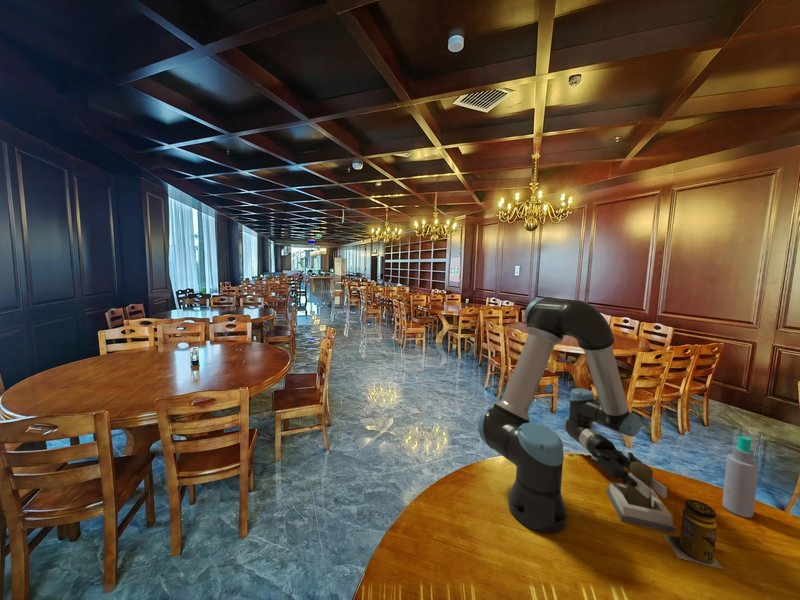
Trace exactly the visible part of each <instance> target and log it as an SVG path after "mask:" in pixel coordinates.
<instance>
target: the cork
mask: <svg viewBox="0 0 800 600" xmlns="http://www.w3.org/2000/svg"><path fill="white" fill-rule="evenodd" d="M641 462H642V461H641ZM641 462H632V463H631V464H630V470H629V471H630V472H629V473H632V474H633V475H634V476H635V477H637V478H638V479H639V480H640V481H642V482H643V483H644V484H645V485H647V486H648V487H649V488H650V498H646V497H645V496H644V495H643V494H641V493H640V492H639V491H638V490H637V489H636V488H634V487H633V486H631V485H630V484H629V483H628V484H627V485H628V488H627V492H626V499H627V500H628V501H629V502H630V503H631V504H633V505H635V506H640V507H645V508H649V509H651V508H652V501H651V489H652V488H651V487H650V479H651V478H652V476H653V477H654V471H653V472H652V470H653V469H652V468H651V467H650V466H649V465H647V464H646V463H643V462H642V463H641Z"/></svg>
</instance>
